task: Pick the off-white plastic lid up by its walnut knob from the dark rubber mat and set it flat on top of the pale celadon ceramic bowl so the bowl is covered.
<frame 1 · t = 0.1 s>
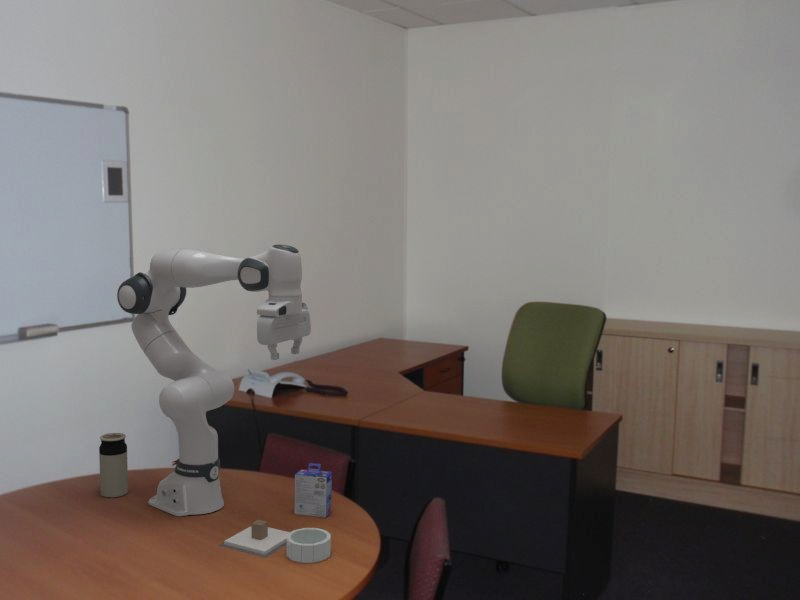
hand: (285, 356, 223), 48 cm above the table, tool pointing down, fingers open, 8 cm apart
bowl: (308, 555, 212), on the table
mat: (259, 542, 219), on the table
lid: (259, 540, 219), resting on mat
ink cartridge box: (313, 514, 239), on the table
travel mug: (114, 494, 252), on the table
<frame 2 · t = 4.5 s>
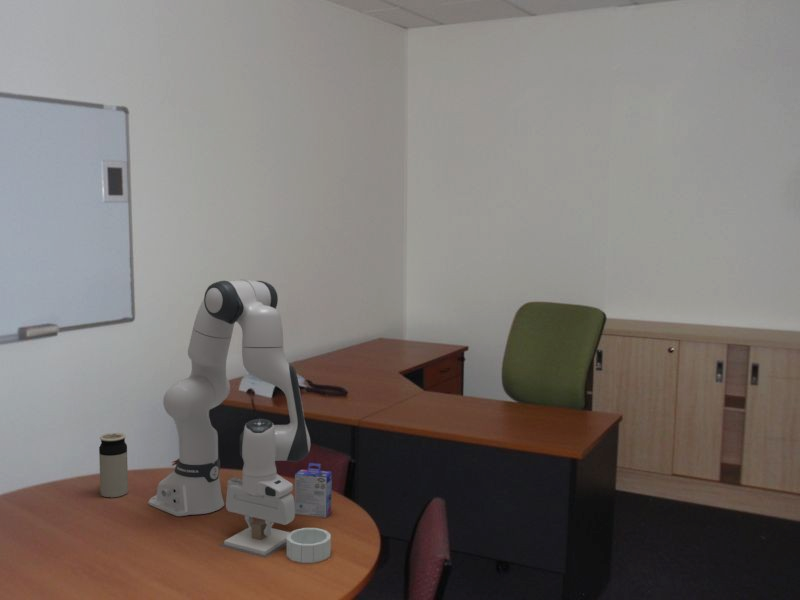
hand: (259, 533, 218), 3 cm above the table, tool pointing down, fingers closed on lid, 3 cm apart
lid: (259, 540, 219), resting on mat, touching gripper
everything else where it was.
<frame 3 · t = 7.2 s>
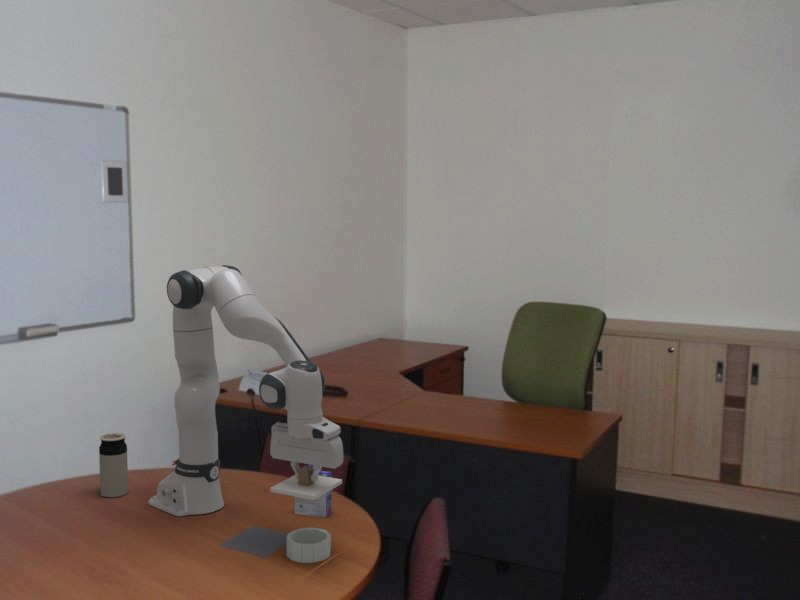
hand: (306, 479, 209), 20 cm above the table, tool pointing down, fingers closed on lid, 3 cm apart
lid: (306, 487, 210), point 18 cm above the table, touching gripper
everything else where it was.
when the fingers open (9 cm above the table, at t = 10.0 s): lid drops 1 cm, resting on bowl.
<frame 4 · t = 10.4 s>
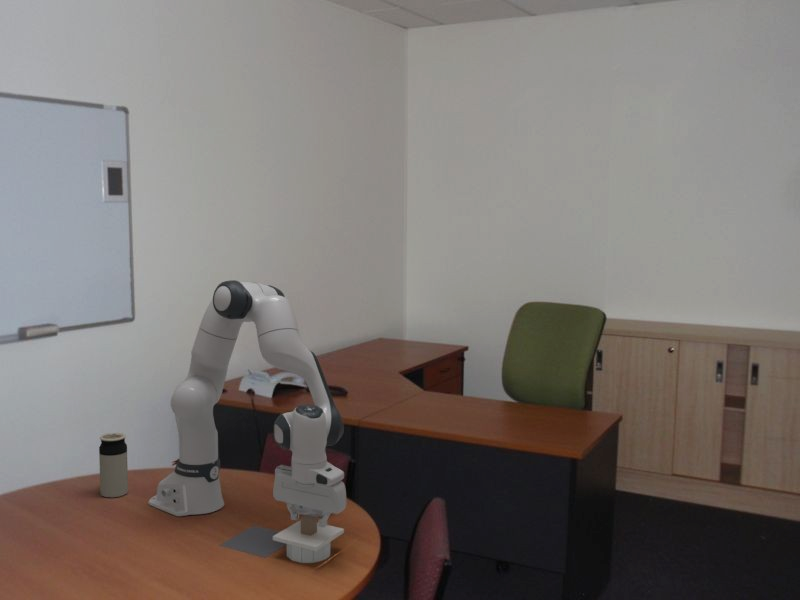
hand: (308, 522, 211), 9 cm above the table, tool pointing down, fingers open, 7 cm apart
lid: (308, 536, 211), point 5 cm above the table, touching bowl
everything else where it was.
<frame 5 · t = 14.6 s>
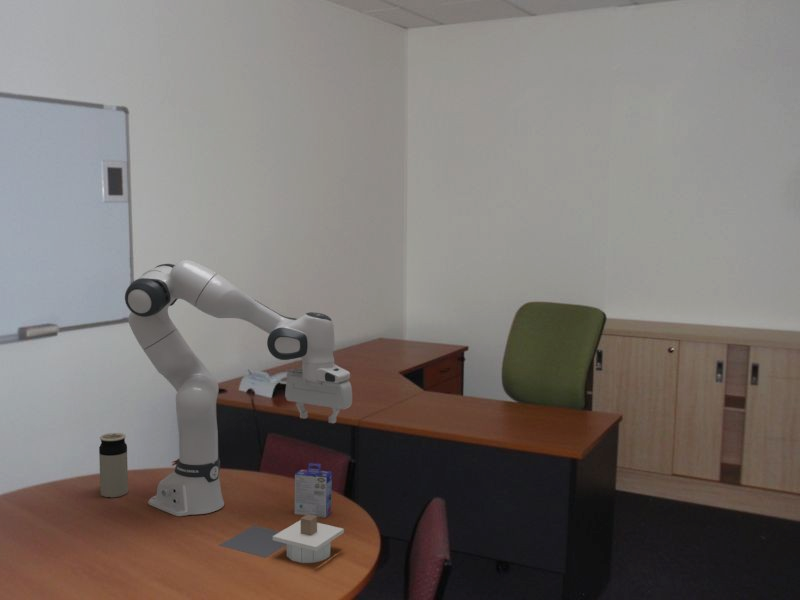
hand: (317, 420, 230), 29 cm above the table, tool pointing down, fingers open, 8 cm apart
nothing on the table moved.
at the end: lid 0.1 cm off-centre on the bowl, point 5.0 cm above the bowl's base; lid tilted 0°; the gripper is holding nothing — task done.
